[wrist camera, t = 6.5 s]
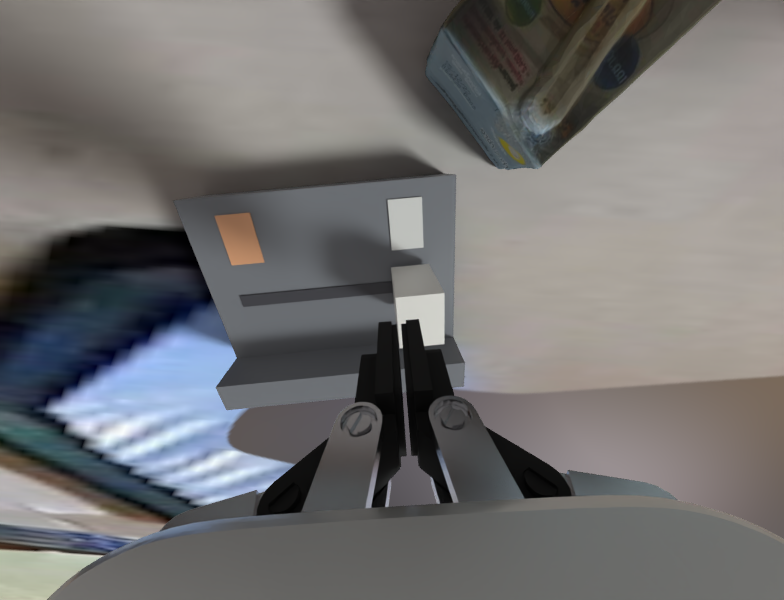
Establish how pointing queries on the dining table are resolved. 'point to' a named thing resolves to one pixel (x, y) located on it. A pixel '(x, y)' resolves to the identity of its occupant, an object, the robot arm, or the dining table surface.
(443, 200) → the grey slide switch panel
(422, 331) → the knob
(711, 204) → the dining table surface
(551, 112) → the beverage carton
